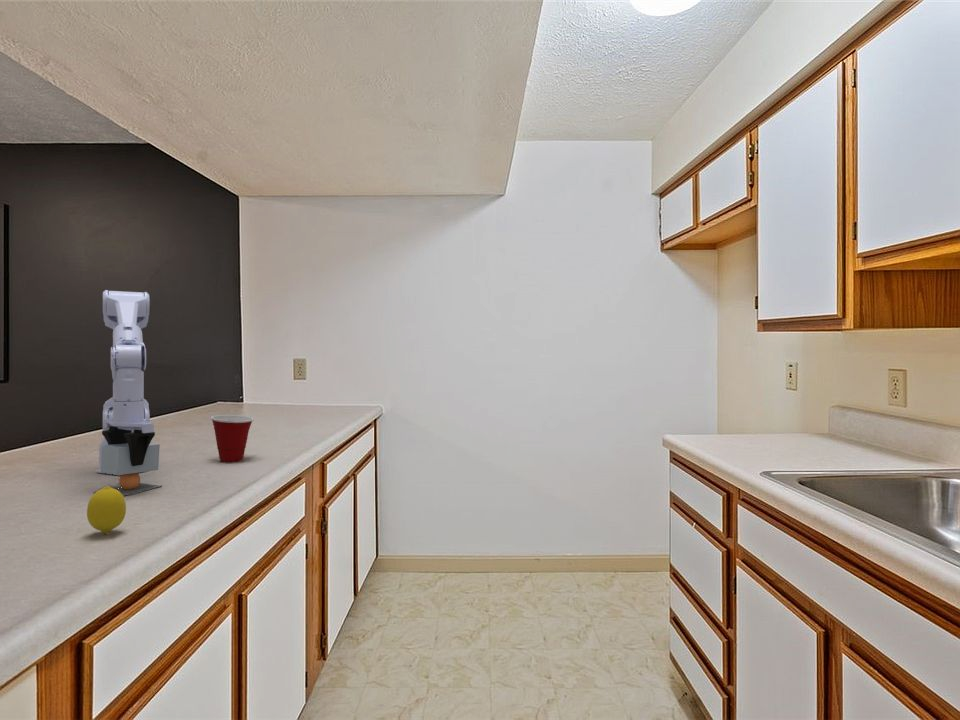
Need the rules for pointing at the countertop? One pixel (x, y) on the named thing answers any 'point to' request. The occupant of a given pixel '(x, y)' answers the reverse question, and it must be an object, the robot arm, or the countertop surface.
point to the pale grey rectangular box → (127, 459)
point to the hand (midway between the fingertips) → (128, 463)
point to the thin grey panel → (139, 488)
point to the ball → (129, 481)
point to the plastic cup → (231, 436)
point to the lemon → (106, 509)
